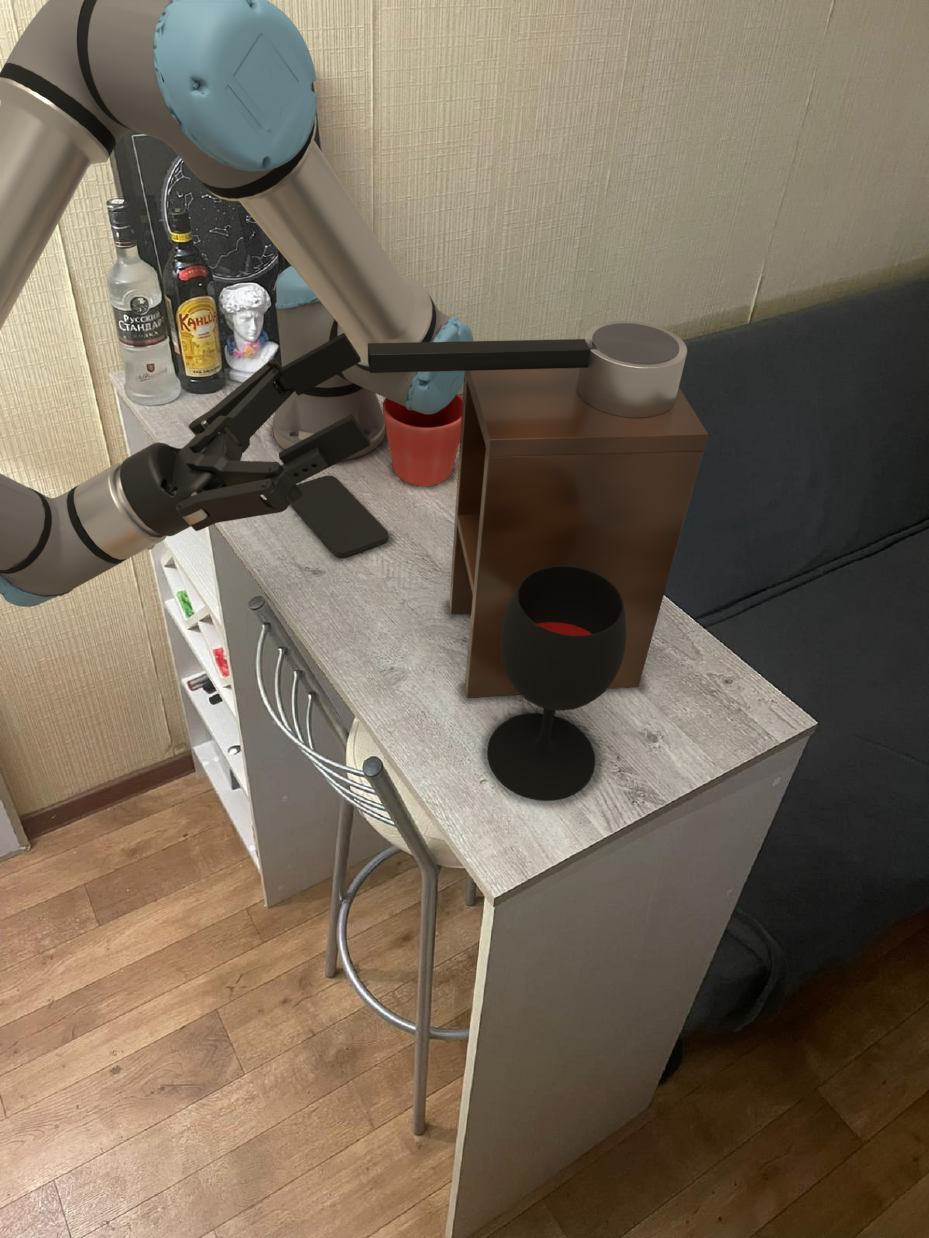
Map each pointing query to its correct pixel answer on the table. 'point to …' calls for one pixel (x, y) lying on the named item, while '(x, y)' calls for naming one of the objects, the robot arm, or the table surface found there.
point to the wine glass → (556, 677)
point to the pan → (565, 363)
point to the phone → (338, 517)
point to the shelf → (564, 505)
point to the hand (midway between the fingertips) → (357, 385)
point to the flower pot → (423, 441)
